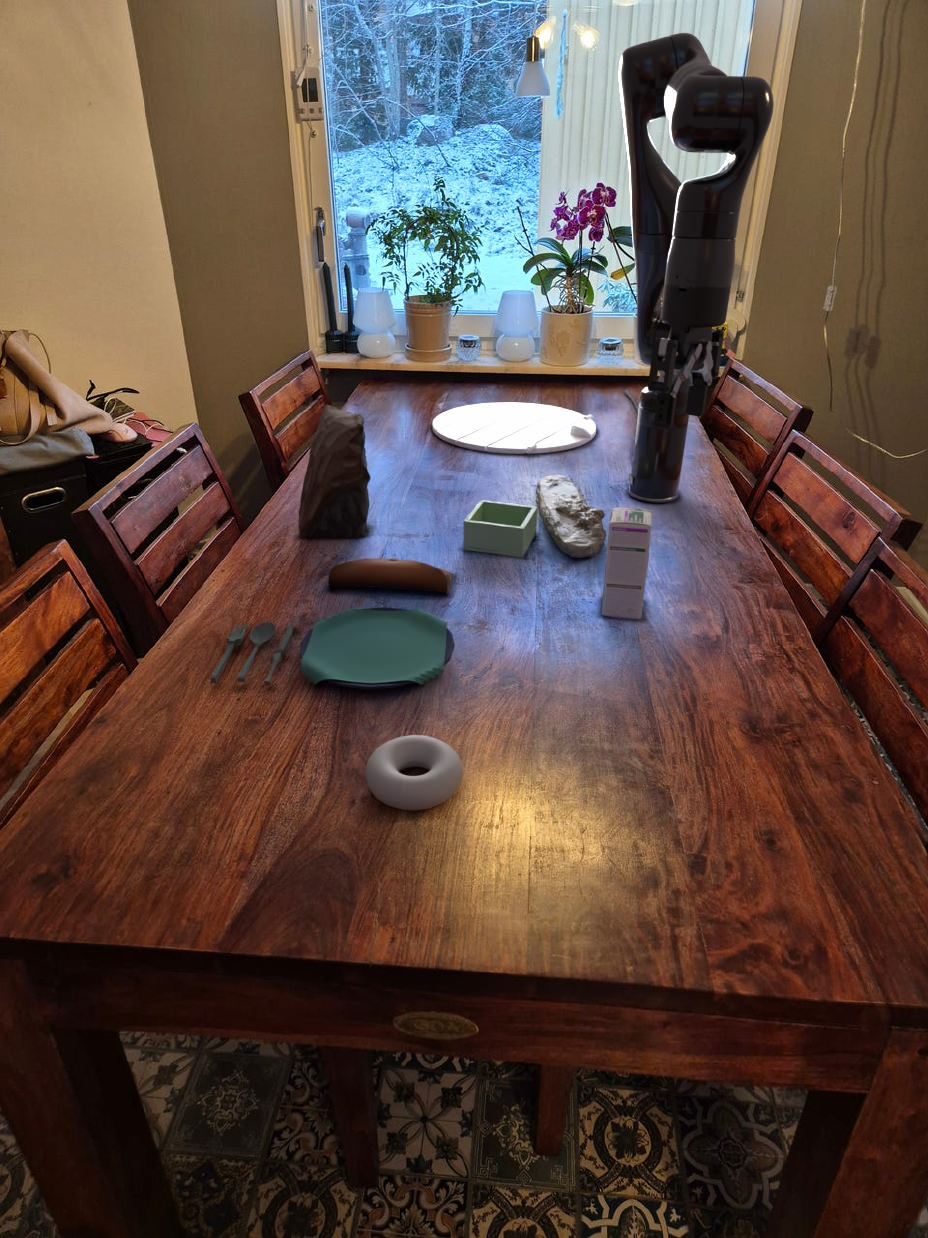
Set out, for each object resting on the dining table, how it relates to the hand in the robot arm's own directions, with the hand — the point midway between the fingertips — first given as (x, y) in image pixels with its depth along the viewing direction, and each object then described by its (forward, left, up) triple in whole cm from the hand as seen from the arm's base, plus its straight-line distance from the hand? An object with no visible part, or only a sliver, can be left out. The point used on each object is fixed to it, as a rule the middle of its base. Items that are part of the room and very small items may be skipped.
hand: (679, 420), depth 102 cm
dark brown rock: (-2, -59, -28) cm, 65 cm away
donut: (+47, -10, -28) cm, 56 cm away
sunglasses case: (+10, -38, -28) cm, 48 cm away
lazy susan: (-73, -59, -28) cm, 98 cm away
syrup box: (0, -5, -28) cm, 29 cm away
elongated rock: (-26, -25, -28) cm, 46 cm away
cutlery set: (+31, -32, -28) cm, 52 cm away
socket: (-12, -31, -28) cm, 43 cm away
